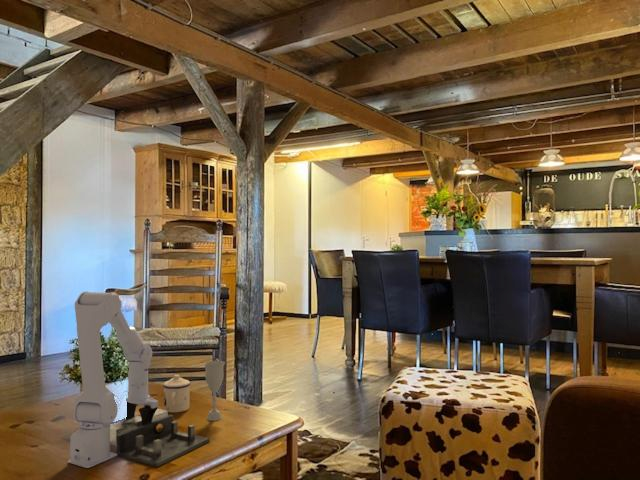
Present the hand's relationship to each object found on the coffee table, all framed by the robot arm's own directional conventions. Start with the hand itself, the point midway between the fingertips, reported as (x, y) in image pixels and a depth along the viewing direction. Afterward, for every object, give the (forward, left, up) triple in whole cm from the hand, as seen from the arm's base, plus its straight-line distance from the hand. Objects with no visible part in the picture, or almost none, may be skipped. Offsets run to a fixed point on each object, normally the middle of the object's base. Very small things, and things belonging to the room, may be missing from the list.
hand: (138, 428), depth 160 cm
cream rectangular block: (0, 0, -2) cm, 2 cm away
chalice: (+22, -11, -2) cm, 25 cm away
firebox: (-5, -17, -1) cm, 17 cm away
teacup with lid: (+22, +6, -2) cm, 23 cm away
